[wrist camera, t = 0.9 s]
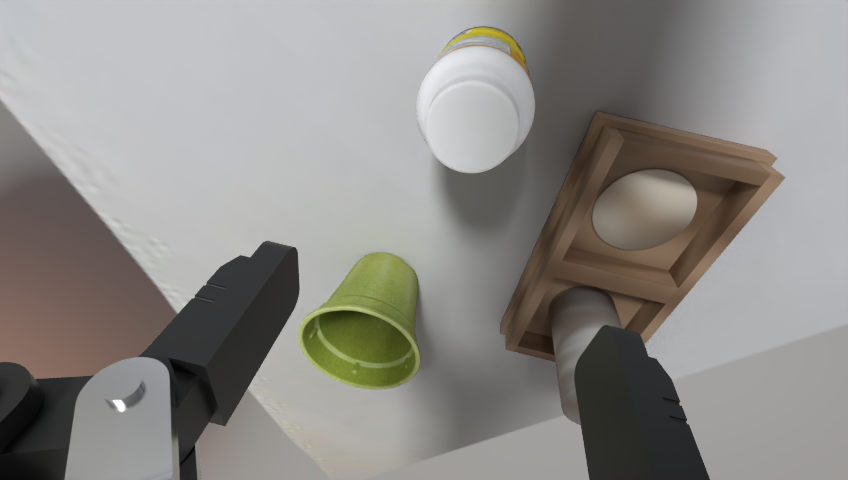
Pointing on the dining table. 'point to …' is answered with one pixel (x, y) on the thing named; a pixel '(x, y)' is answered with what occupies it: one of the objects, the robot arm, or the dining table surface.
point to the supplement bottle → (476, 101)
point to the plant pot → (367, 326)
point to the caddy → (630, 236)
